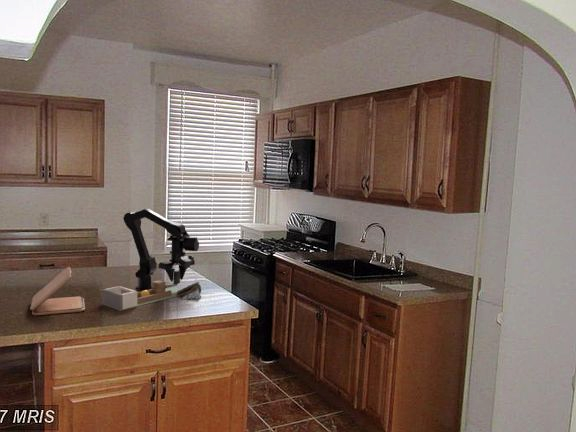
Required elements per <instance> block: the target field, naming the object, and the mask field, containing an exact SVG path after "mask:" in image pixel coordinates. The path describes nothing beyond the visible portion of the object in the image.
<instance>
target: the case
mask: <svg viewBox="0 0 576 432" xmlns="http://www.w3.org/2000/svg"><path fill="white" fill-rule="evenodd" d="M72 275H73V271H72V270H71V267H70V266H67V267H66V268H64V269H63V270H62V271H61V272H60V273H59V274H57V275H56V276H55V277H54V278H53V279H52V280H51V281H50V282H48V283H47V284H46V285H45V286H44V287H43V288H42V289H40V290H39V291H38V292H37V293H36V294H35V295H33V297H32V298H31V304H30V307H29V309H30V310H31V311H32V312H31V313H32V315H33V316H45V315H46V316H47V315H55V314H56V315H58V314H69V313H78V312H79V313H82V312H83V311H85V310H86V305H85V304H86V303H85V298H84V297H82V296H77V295H76V296H65V297H63V296H62V297H53V298H50V297H52V296H53V295H54V294H55V293H56V292H58V291H59V290H60V289H61V288H63V287H64V286H65V285H66V284H68V282H69V281H70V280H71V278H72Z"/></svg>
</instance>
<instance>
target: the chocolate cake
mask: <svg viewBox="0 0 576 432" xmlns="http://www.w3.org/2000/svg"><path fill="white" fill-rule="evenodd" d="M201 293H202V286H201V284H200V282H199V281H196V282H194V283H192V284H190V285H188V286H186V287H184V288H181V289H180V290H179V291H177V293H176V294H177V295H178V296H177V297H179V298H180V300H186V299H187V300H191V299H196V300H199V299H201Z"/></svg>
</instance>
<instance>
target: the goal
mask: <svg viewBox="0 0 576 432" xmlns="http://www.w3.org/2000/svg"><path fill="white" fill-rule="evenodd" d="M122 291H126V292H125V293H122ZM137 292H138V290H135V289H132V288H131V289H130V288H127V287H124V286H121V285H117V286H113V287H108V288H104V289H103V288H102V292H101V294H102V297H101V299H102V305H103V304H105V305H104V306H106V305H108V306H110V307H109V308H111V307H113V308H112V309H114V308H116V309H115V310H117V309H119V310H118V311H120V310H121V311H123V310H122V309H125V310H127V309H126V308H129V309H131V308H130V307H133V308H135V307H134V306H137ZM108 306H107V307H108ZM137 307H138V306H137Z"/></svg>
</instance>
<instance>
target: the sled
mask: <svg viewBox="0 0 576 432" xmlns="http://www.w3.org/2000/svg"><path fill="white" fill-rule="evenodd" d="M180 283H181V279H180V271H179V270H174V273H173V283H169V284H167V283H166V281H163V280H155V281H151V286H152V288H151V289H152V294H157V293H161V292H165V290H166V289H168V288H172V287H173V288H174V287H176V286H178V285H179V284H180Z"/></svg>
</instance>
